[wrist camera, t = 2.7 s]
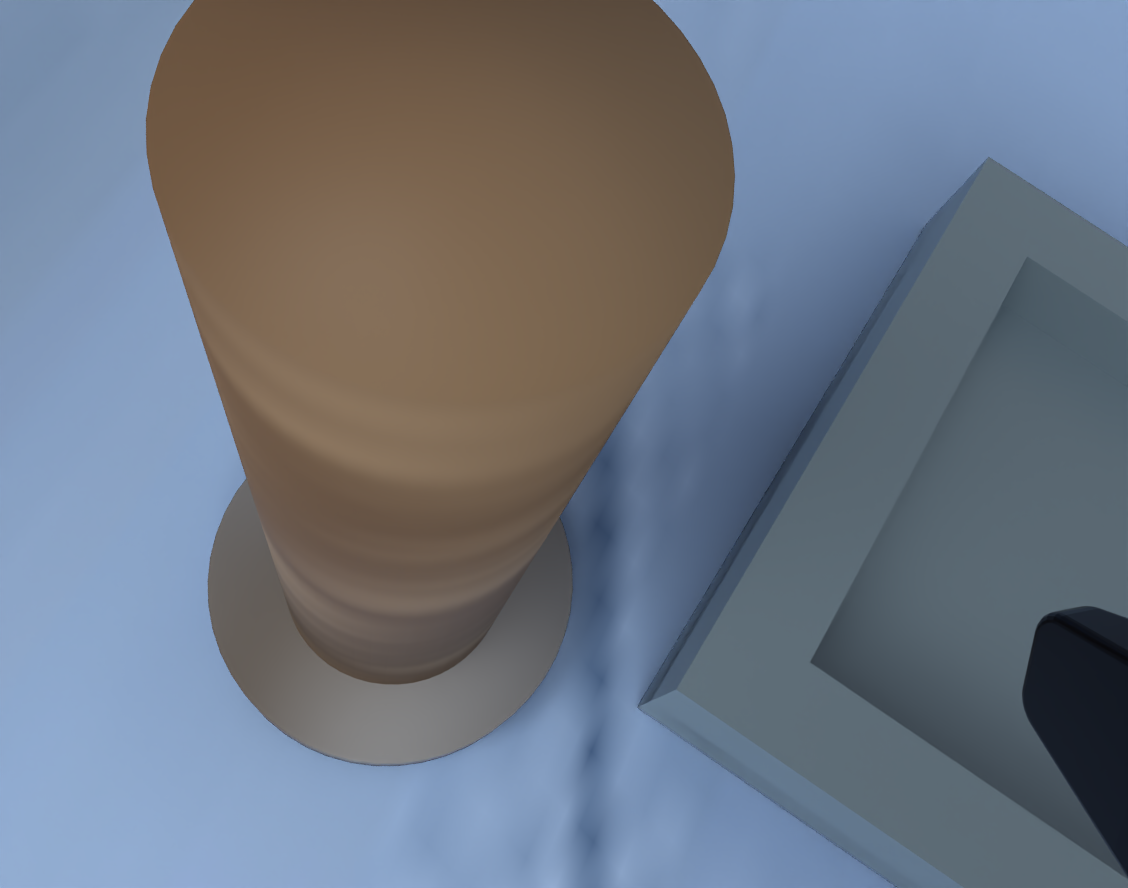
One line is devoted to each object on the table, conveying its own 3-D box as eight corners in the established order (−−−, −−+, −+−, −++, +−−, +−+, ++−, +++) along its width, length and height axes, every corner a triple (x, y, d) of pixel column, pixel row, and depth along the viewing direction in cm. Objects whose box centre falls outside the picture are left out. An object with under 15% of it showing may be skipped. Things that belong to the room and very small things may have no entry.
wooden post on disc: (624, 549, 19) (1043, 93, 7) (435, 840, 17) (606, 855, 5) (359, 368, 20) (355, -350, 8) (138, 630, 17) (-346, 187, 6)
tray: (1419, 546, 23) (1539, 513, 20) (1252, 1133, 18) (1383, 1177, 16) (926, 223, 23) (988, 156, 21) (636, 707, 19) (676, 689, 16)
